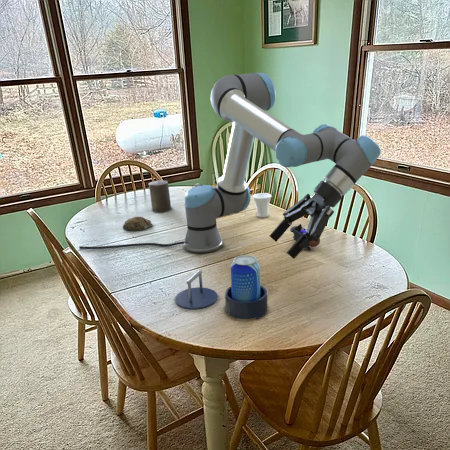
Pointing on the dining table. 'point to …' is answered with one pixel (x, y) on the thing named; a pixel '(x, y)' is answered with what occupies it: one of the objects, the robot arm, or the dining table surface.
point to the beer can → (245, 278)
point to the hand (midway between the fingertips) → (280, 247)
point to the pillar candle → (160, 196)
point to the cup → (262, 204)
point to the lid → (196, 295)
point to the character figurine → (298, 233)
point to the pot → (246, 306)
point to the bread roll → (137, 224)
